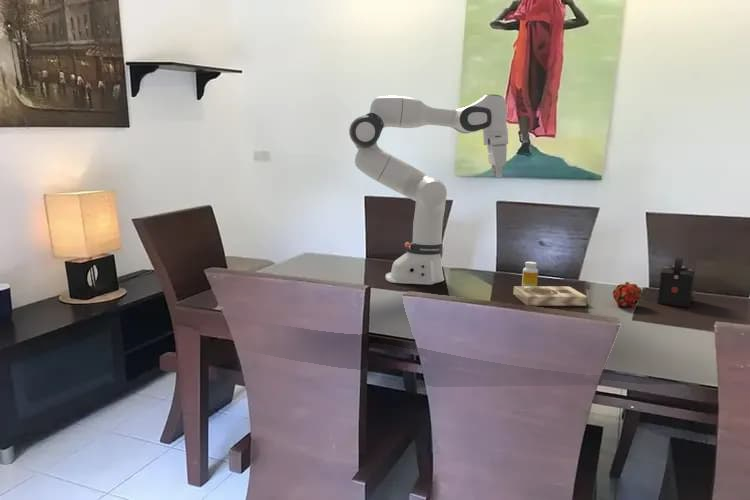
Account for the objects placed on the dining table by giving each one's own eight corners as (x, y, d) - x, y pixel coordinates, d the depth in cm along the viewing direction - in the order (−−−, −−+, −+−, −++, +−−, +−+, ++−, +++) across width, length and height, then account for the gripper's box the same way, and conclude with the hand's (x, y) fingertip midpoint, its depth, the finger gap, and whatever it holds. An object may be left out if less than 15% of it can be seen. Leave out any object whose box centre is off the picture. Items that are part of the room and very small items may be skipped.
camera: (694, 300, 197) (699, 257, 194) (692, 309, 185) (698, 264, 182) (659, 295, 202) (664, 254, 200) (656, 303, 190) (661, 260, 188)
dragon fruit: (635, 307, 191) (621, 319, 182) (615, 289, 194) (600, 300, 186) (652, 291, 185) (638, 303, 177) (631, 273, 189) (617, 283, 180)
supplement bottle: (538, 290, 205) (540, 264, 203) (523, 290, 205) (525, 263, 203) (534, 287, 210) (536, 261, 208) (520, 286, 210) (521, 260, 208)
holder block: (527, 305, 184) (528, 296, 183) (513, 294, 198) (513, 285, 197) (586, 305, 186) (587, 296, 185) (568, 294, 199) (569, 286, 199)
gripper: (483, 139, 219) (485, 175, 222) (490, 140, 199) (492, 179, 202) (500, 138, 219) (501, 174, 222) (509, 139, 199) (510, 178, 202)
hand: (497, 177), depth 212 cm, fingers open, 8 cm apart
